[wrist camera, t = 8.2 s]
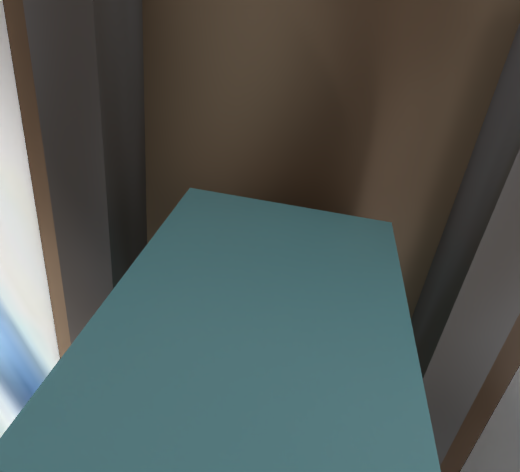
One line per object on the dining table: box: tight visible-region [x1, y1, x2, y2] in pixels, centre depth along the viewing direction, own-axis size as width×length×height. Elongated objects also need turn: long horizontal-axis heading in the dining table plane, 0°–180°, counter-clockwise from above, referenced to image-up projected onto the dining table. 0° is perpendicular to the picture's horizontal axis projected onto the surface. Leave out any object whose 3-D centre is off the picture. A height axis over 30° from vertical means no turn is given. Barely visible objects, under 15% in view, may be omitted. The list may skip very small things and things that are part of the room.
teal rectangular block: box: [0, 188, 441, 472], centre depth 8 cm, size 4×8×6 cm, turn 174°
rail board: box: [3, 0, 520, 472], centre depth 12 cm, size 13×16×3 cm
